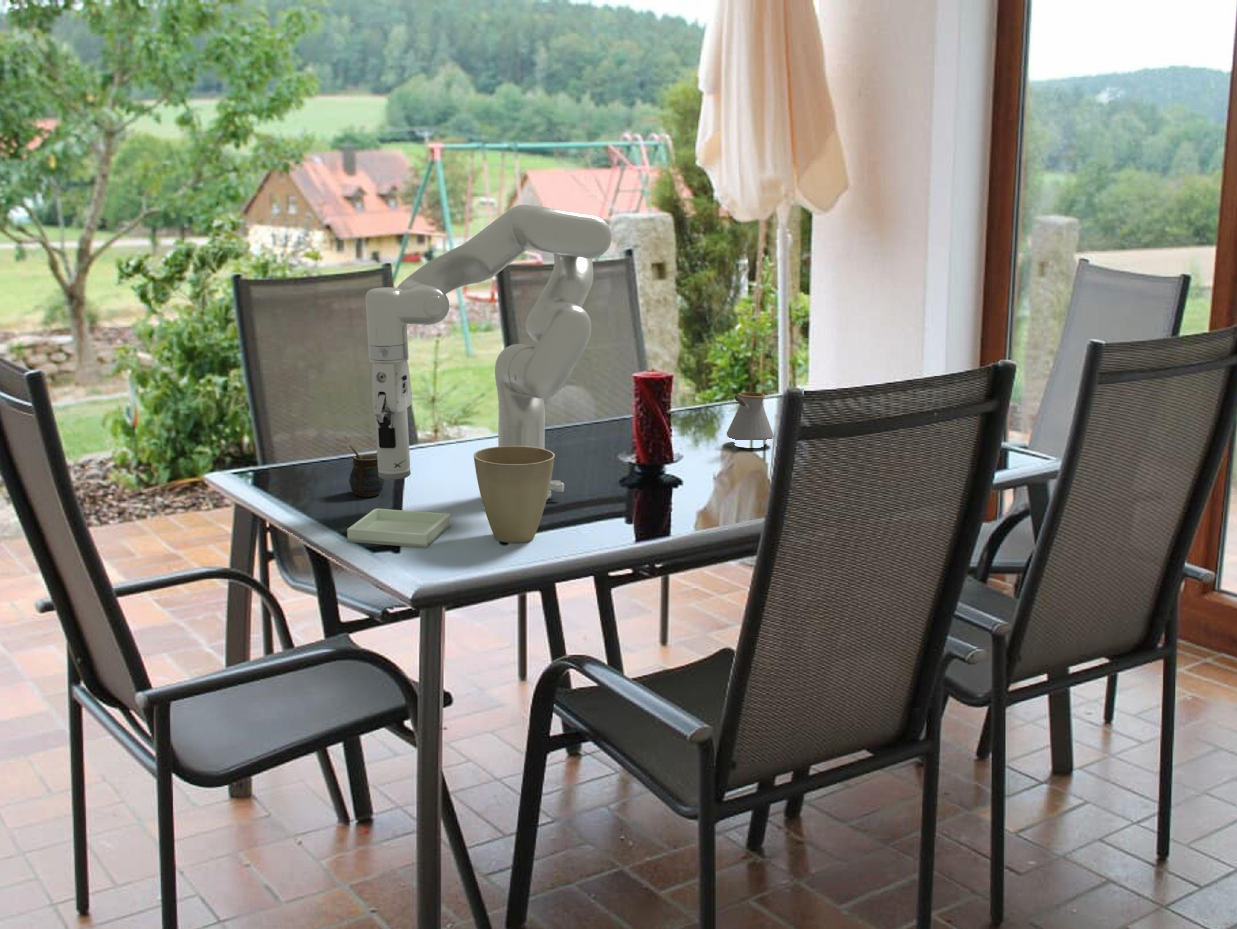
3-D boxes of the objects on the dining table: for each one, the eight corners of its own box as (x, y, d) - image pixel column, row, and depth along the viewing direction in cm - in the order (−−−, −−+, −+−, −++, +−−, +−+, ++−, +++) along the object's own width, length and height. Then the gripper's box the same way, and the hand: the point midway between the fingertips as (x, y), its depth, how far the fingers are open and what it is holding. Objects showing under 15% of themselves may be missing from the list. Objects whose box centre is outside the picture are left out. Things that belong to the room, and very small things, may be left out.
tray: (450, 526, 266) (450, 513, 266) (426, 547, 252) (426, 535, 251) (375, 520, 269) (375, 508, 268) (347, 541, 254) (347, 529, 254)
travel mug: (405, 480, 270) (400, 379, 265) (373, 479, 272) (367, 378, 267) (416, 472, 276) (411, 372, 271) (385, 471, 278) (379, 372, 272)
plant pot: (482, 524, 268) (482, 443, 264) (558, 529, 266) (560, 447, 263) (465, 546, 253) (465, 461, 250) (546, 551, 252) (548, 465, 248)
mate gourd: (377, 500, 284) (377, 452, 281) (342, 497, 285) (341, 449, 283) (389, 491, 291) (389, 444, 288) (355, 489, 292) (354, 442, 290)
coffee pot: (733, 439, 351) (736, 380, 347) (777, 443, 347) (781, 384, 343) (708, 456, 331) (711, 393, 328) (755, 461, 327) (758, 398, 324)
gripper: (392, 361, 259) (397, 455, 263) (421, 345, 275) (425, 433, 280) (354, 360, 260) (359, 453, 265) (384, 344, 277) (389, 432, 281)
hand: (393, 442), depth 272 cm, fingers closed on travel mug, 6 cm apart
